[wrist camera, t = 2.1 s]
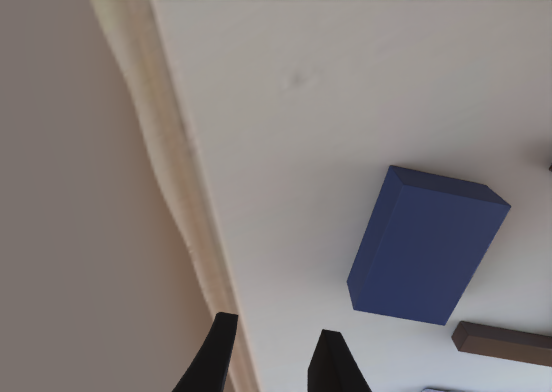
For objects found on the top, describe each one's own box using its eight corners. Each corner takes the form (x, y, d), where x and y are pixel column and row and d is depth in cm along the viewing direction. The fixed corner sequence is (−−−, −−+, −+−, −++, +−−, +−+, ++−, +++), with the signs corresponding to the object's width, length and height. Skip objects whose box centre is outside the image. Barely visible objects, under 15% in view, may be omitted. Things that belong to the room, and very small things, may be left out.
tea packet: (429, 296, 23) (444, 326, 21) (346, 281, 23) (353, 310, 21) (486, 184, 20) (512, 206, 18) (389, 165, 20) (403, 184, 17)
